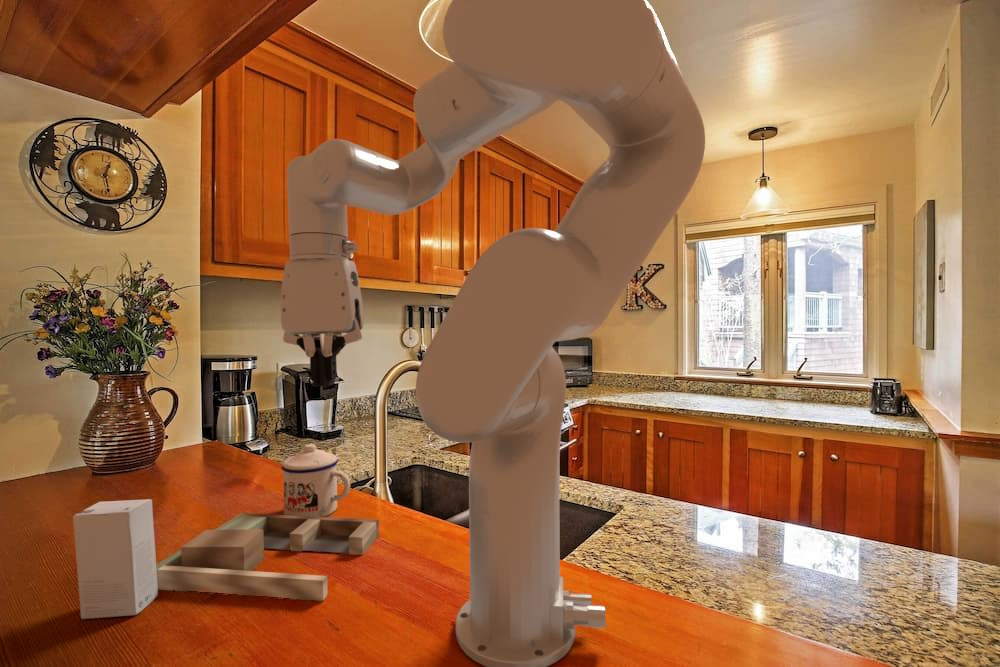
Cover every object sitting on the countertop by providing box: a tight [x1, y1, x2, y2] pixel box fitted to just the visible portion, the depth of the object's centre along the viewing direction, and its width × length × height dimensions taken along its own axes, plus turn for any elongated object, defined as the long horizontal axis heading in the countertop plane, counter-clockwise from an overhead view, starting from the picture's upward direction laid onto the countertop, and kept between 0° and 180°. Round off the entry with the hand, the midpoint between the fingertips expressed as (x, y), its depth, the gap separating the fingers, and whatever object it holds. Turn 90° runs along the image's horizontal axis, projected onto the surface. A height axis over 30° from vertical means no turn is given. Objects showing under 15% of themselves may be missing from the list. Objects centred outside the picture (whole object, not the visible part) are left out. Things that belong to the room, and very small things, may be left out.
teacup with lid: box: [281, 443, 351, 517], centre depth 81 cm, size 12×9×12 cm
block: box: [180, 529, 265, 571], centre depth 62 cm, size 8×5×4 cm, turn 90°
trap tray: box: [156, 512, 380, 602], centre depth 65 cm, size 23×17×2 cm
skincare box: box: [72, 498, 159, 620], centre depth 54 cm, size 6×4×12 cm
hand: (324, 385), depth 64 cm, fingers closed
